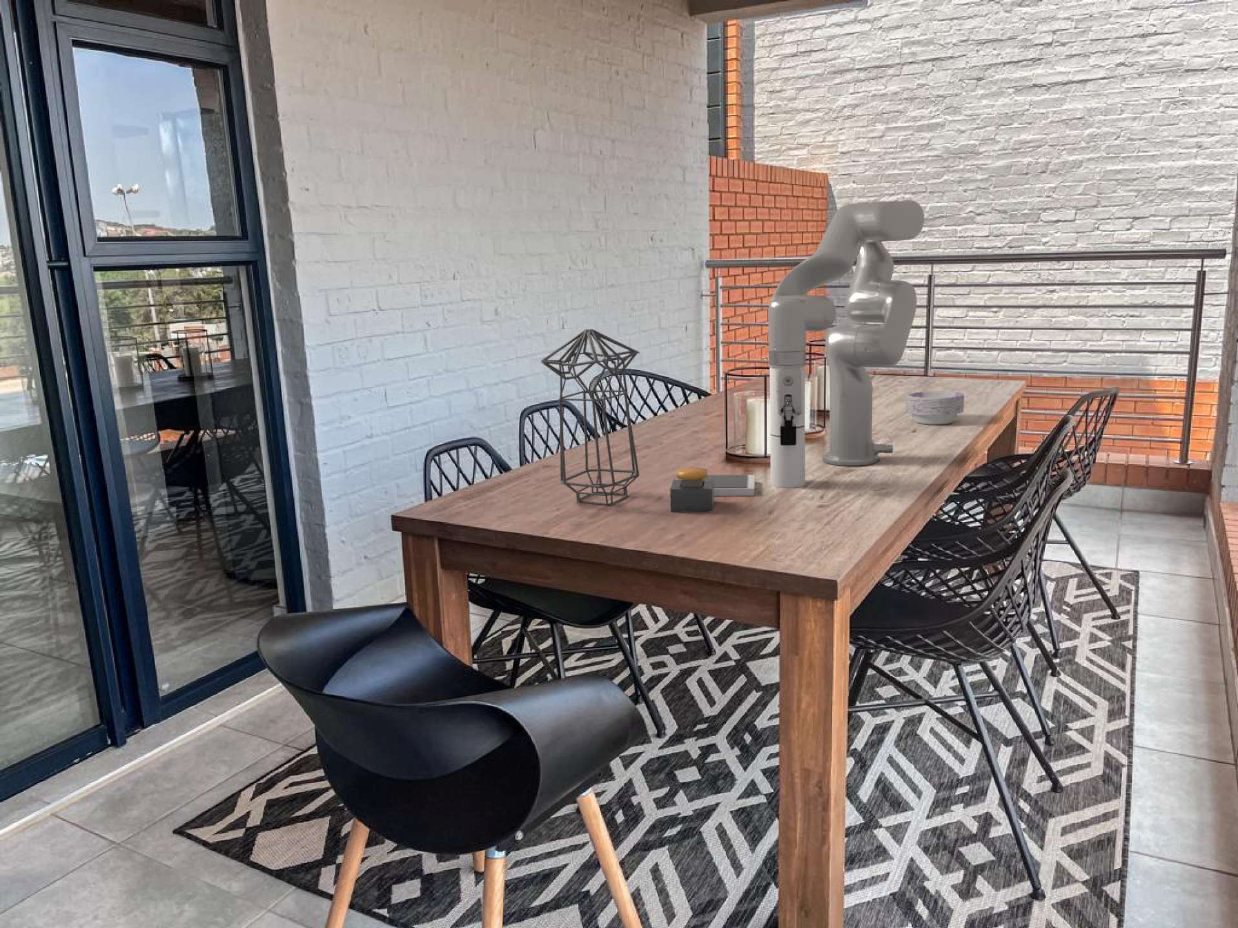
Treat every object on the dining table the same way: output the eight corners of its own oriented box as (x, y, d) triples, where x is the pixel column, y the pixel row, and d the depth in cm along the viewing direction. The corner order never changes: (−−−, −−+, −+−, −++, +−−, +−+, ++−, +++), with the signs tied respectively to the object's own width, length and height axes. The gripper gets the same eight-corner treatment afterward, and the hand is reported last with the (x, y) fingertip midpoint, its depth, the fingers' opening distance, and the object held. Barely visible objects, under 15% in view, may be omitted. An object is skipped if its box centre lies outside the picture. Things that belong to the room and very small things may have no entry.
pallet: (754, 481, 208) (754, 474, 207) (754, 495, 196) (754, 487, 196) (689, 482, 210) (689, 474, 209) (685, 496, 198) (685, 488, 198)
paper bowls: (907, 417, 276) (908, 389, 274) (964, 418, 270) (965, 390, 269) (902, 426, 262) (903, 397, 260) (962, 428, 257) (963, 398, 255)
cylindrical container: (804, 487, 200) (804, 368, 195) (769, 487, 202) (768, 368, 197) (805, 479, 207) (805, 364, 202) (771, 479, 209) (770, 364, 203)
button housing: (714, 500, 193) (713, 479, 192) (712, 511, 186) (711, 488, 185) (674, 501, 194) (673, 479, 193) (670, 511, 187) (670, 489, 186)
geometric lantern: (613, 512, 188) (600, 332, 180) (548, 506, 196) (532, 334, 189) (653, 493, 201) (642, 324, 193) (590, 487, 209) (578, 326, 202)
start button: (708, 492, 192) (708, 467, 191) (707, 500, 186) (706, 474, 185) (678, 492, 193) (677, 467, 192) (676, 500, 187) (675, 474, 186)
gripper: (807, 363, 190) (807, 448, 194) (803, 354, 207) (803, 432, 210) (769, 364, 191) (770, 449, 195) (768, 355, 208) (768, 433, 211)
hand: (787, 440), depth 203 cm, fingers open, 9 cm apart
